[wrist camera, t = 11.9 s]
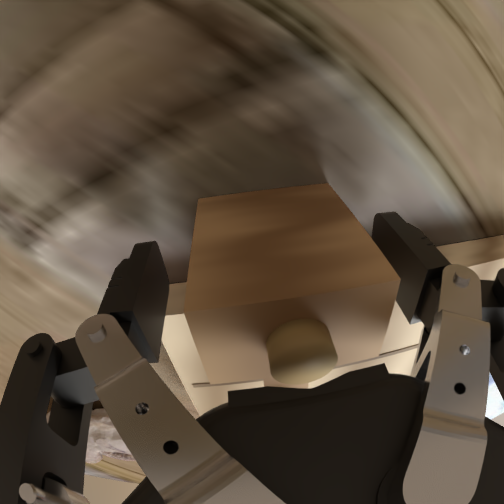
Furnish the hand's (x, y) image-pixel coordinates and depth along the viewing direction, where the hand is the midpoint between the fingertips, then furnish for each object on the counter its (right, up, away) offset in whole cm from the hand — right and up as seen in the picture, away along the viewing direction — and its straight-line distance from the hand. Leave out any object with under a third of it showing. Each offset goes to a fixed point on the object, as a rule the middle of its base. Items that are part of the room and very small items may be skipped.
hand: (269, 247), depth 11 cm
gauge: (0, -2, +3) cm, 3 cm away
